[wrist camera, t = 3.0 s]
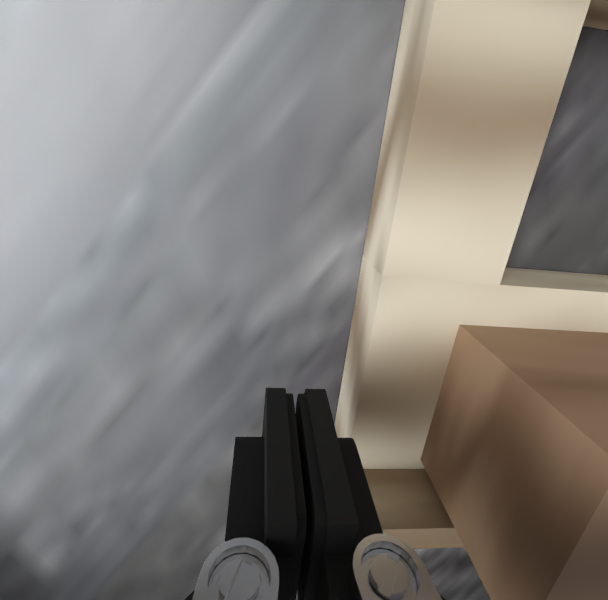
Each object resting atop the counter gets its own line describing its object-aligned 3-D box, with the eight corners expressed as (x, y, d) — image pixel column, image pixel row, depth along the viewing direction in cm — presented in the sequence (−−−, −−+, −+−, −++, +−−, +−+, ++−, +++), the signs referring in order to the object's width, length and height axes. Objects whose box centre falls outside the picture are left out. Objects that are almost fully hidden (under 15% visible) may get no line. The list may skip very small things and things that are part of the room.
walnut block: (555, 460, 15) (723, 637, 10) (420, 459, 14) (516, 651, 9) (615, 332, 13) (877, 466, 7) (459, 324, 12) (620, 465, 7)
